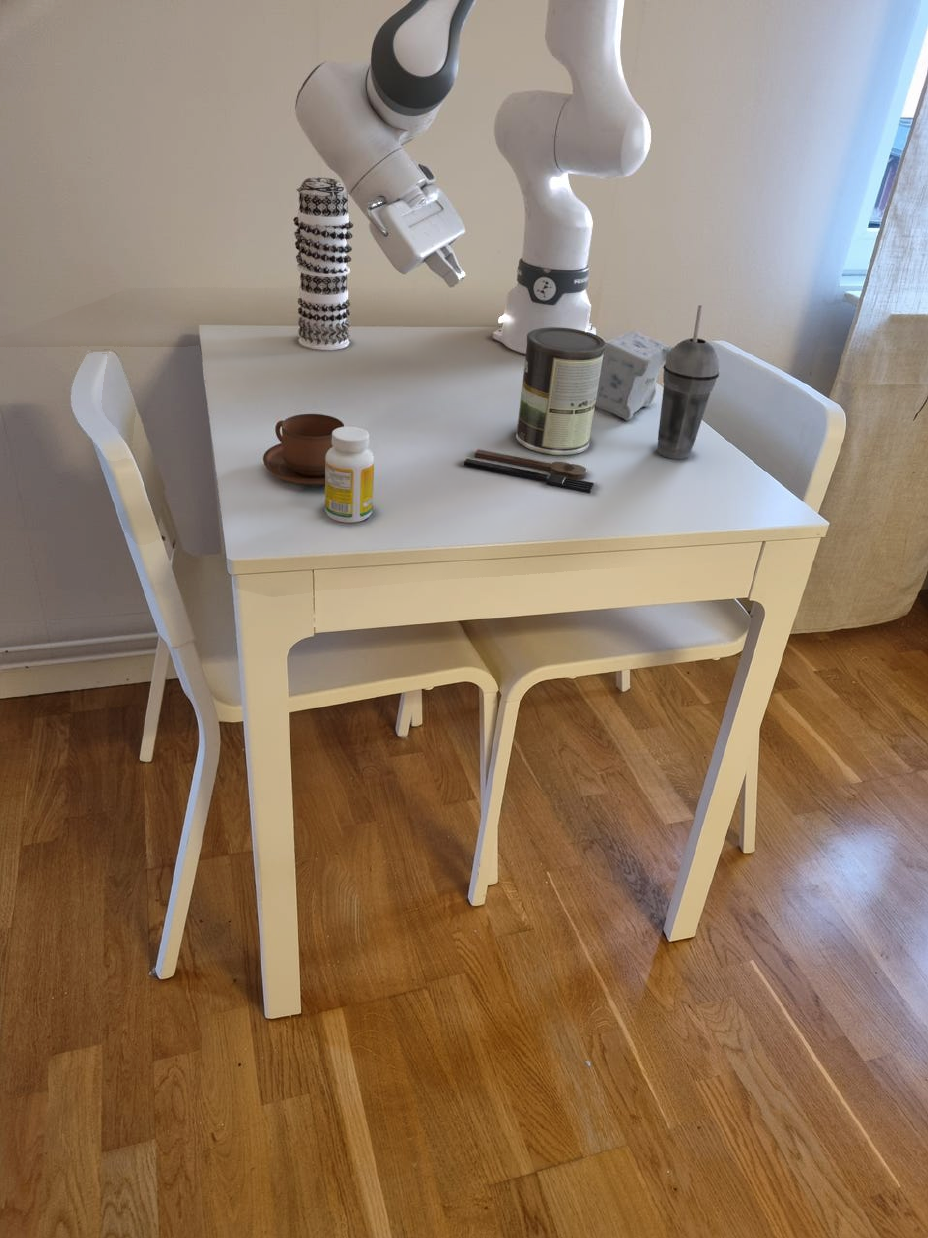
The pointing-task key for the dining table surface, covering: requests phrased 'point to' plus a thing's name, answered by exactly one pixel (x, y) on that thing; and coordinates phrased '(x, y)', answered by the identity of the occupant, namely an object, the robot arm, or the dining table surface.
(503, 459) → the spoon
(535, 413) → the coffee can
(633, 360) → the incense holder
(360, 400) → the dining table surface
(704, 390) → the beverage cup
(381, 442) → the dining table surface
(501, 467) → the fork
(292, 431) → the cup and saucer
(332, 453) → the supplement bottle
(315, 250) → the decorative candle
